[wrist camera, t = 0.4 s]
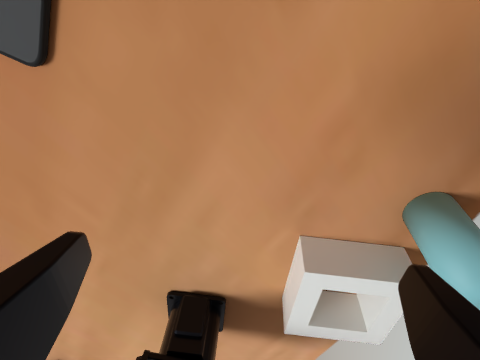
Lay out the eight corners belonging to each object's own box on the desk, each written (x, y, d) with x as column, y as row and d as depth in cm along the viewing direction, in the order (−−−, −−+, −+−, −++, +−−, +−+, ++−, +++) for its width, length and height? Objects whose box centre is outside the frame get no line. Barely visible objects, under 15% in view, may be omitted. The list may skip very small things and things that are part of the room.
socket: (368, 306, 32) (380, 344, 29) (282, 296, 32) (284, 333, 29) (403, 247, 27) (423, 285, 23) (299, 235, 27) (304, 272, 23)
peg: (441, 231, 25) (503, 321, 19) (394, 226, 25) (440, 314, 19) (466, 195, 23) (546, 283, 16) (414, 189, 23) (474, 274, 16)
